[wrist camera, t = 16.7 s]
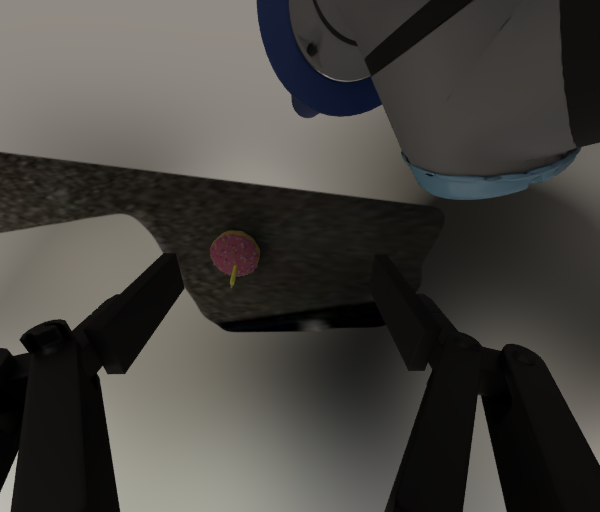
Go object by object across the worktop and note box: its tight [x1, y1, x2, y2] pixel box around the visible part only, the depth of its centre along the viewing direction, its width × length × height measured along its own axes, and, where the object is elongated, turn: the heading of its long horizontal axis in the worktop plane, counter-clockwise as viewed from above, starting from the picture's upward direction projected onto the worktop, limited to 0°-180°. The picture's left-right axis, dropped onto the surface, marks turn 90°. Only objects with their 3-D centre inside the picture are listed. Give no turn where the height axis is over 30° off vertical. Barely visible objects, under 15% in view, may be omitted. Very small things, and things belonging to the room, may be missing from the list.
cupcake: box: [210, 230, 260, 289], centre depth 40 cm, size 9×8×12 cm
